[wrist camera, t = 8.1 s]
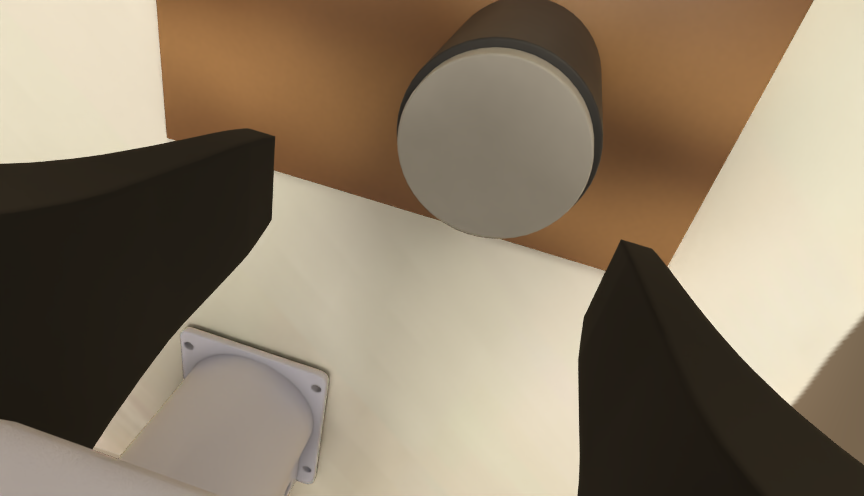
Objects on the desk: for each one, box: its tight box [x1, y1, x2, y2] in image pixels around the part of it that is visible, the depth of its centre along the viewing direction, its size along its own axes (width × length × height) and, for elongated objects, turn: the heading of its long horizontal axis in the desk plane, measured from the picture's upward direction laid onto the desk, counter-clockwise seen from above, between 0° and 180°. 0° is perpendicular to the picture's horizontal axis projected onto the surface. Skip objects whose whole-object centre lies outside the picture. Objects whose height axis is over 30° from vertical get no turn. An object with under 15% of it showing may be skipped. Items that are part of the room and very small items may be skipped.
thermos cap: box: [397, 0, 603, 239], centre depth 16 cm, size 5×5×6 cm
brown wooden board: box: [156, 0, 814, 271], centre depth 19 cm, size 12×20×1 cm, turn 78°
